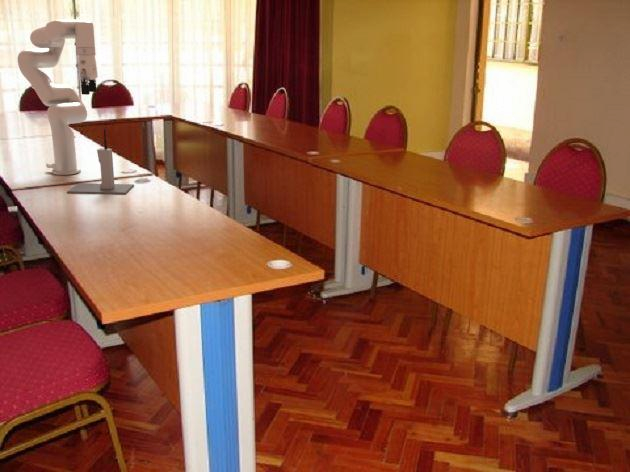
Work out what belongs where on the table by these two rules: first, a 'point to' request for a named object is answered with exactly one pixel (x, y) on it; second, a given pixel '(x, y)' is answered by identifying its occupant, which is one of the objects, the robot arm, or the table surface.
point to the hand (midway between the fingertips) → (89, 93)
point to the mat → (95, 189)
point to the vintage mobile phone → (106, 166)
